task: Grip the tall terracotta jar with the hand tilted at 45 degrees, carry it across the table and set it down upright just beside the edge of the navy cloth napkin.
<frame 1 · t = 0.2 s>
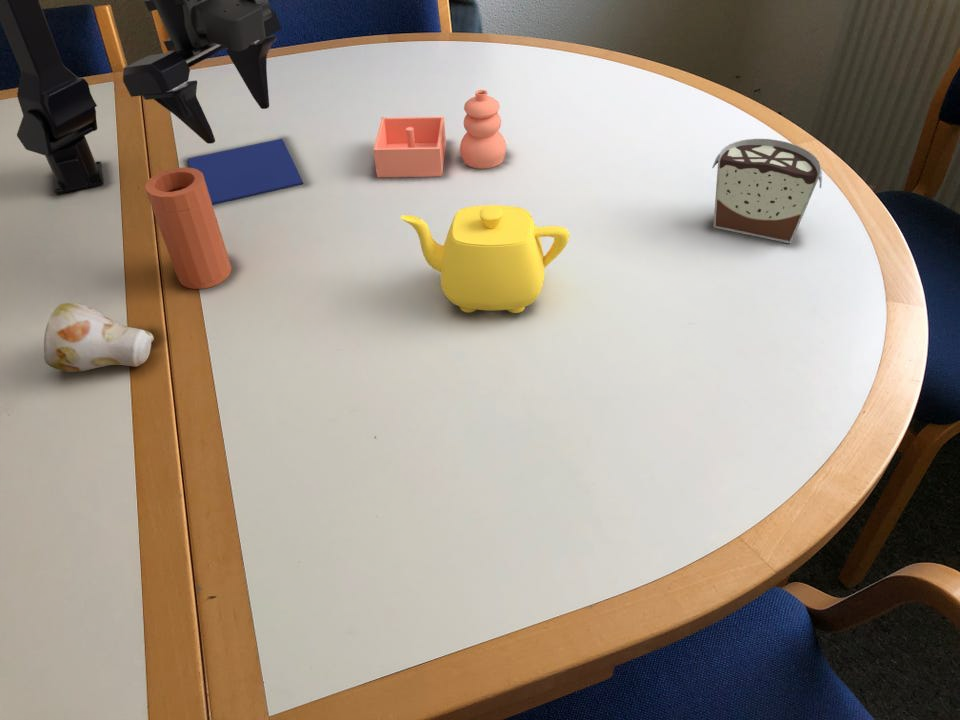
hand: (239, 125, 90), 15 cm above the table, tool pointing down, fingers open, 9 cm apart
teapot: (487, 293, 91), on the table
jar: (205, 273, 95), on the table
fruit patterned vase: (111, 360, 85), on the table
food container: (756, 223, 99), on the table
pottery: (443, 160, 114), on the table
napkin: (244, 171, 113), on the table
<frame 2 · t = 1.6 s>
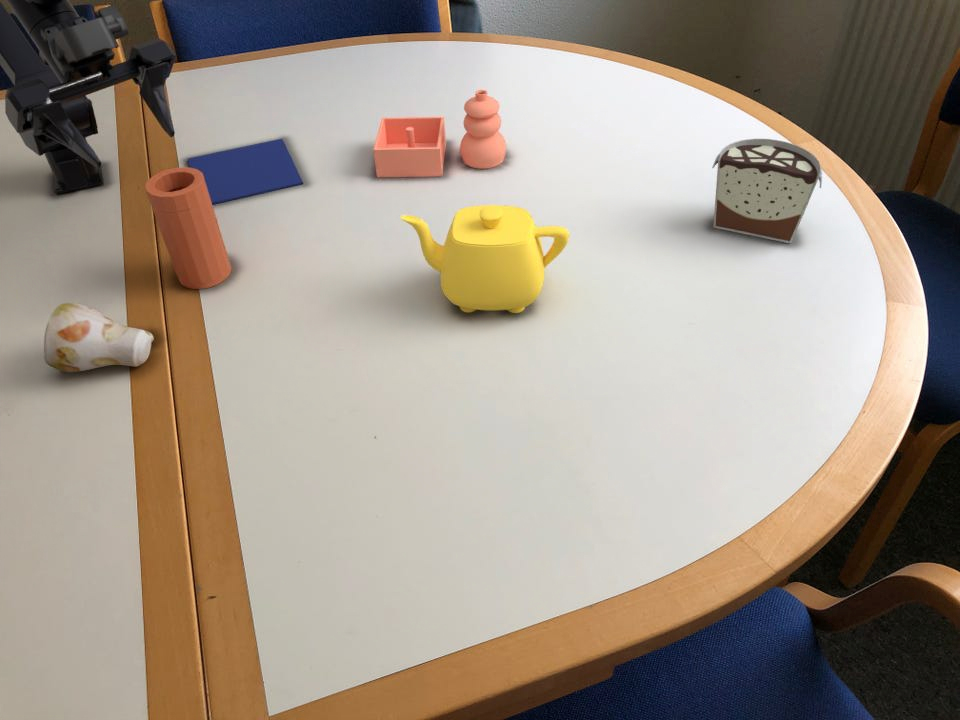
hand: (137, 150, 90), 13 cm above the table, tool tilted 45°, fingers open, 9 cm apart
nothing on the table moved.
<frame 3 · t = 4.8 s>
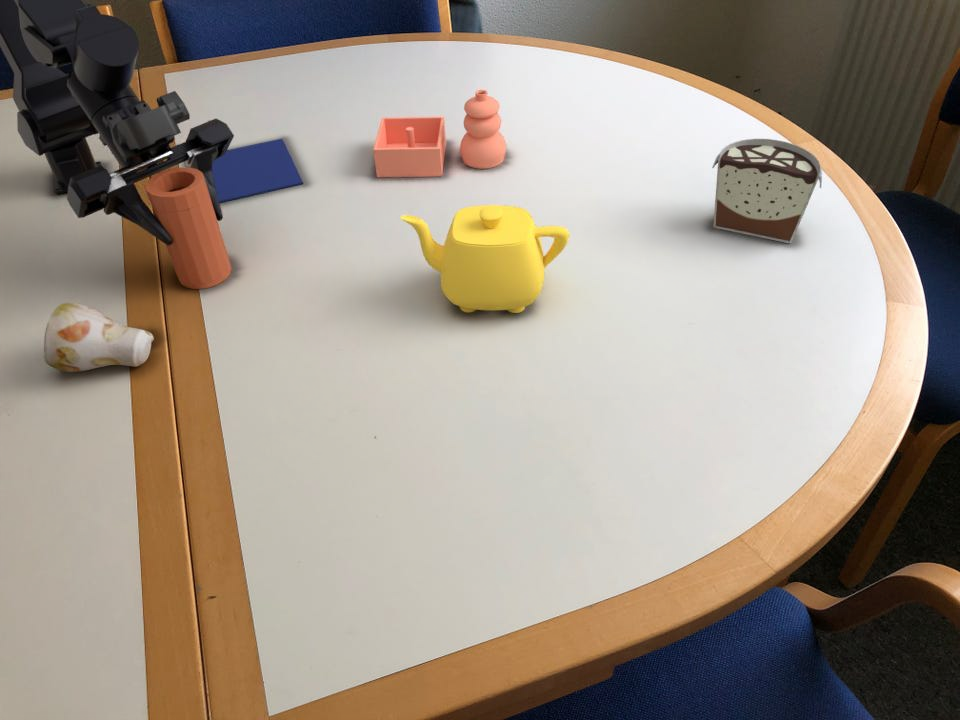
hand: (196, 231, 90), 7 cm above the table, tool tilted 45°, fingers closed on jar, 6 cm apart
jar: (205, 273, 95), on the table, touching gripper
everything else where it was.
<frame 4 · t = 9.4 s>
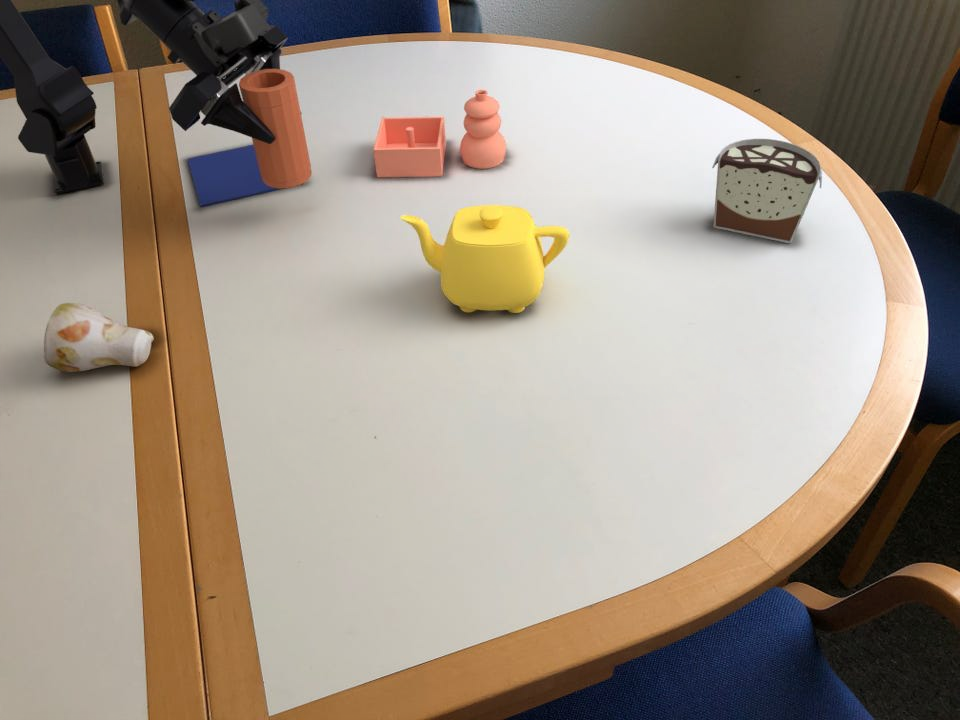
hand: (286, 128, 95), 12 cm above the table, tool tilted 45°, fingers closed on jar, 6 cm apart
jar: (287, 175, 100), point 6 cm above the table, touching gripper
everything else where it was.
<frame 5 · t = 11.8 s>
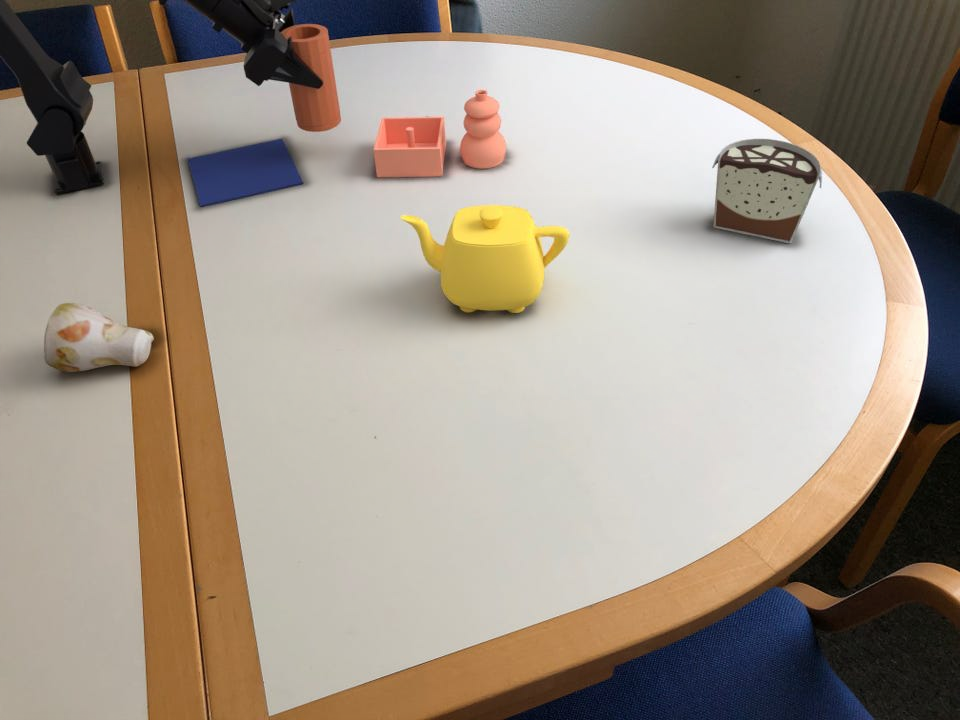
hand: (321, 75, 108), 12 cm above the table, tool tilted 45°, fingers closed on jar, 6 cm apart
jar: (319, 121, 112), point 5 cm above the table, touching gripper
everything else where it was.
when the fingers open (7 cm above the table, at t = 13.8 s): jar stays where it is, on the table.
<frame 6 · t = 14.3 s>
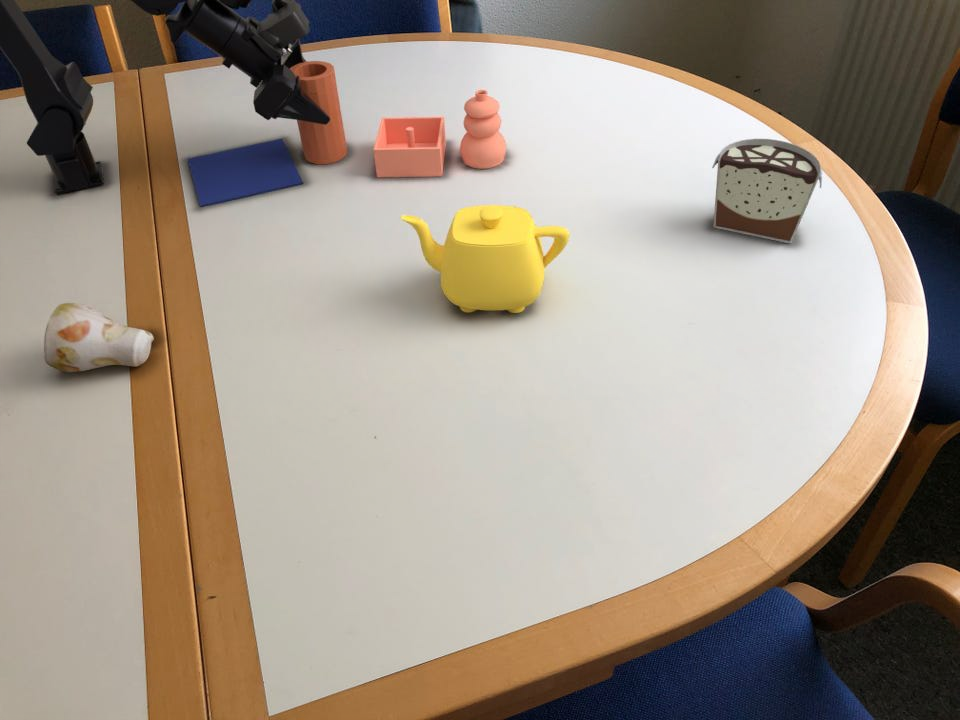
hand: (328, 106, 111), 7 cm above the table, tool tilted 45°, fingers open, 9 cm apart
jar: (326, 153, 116), on the table
everything else where it was.
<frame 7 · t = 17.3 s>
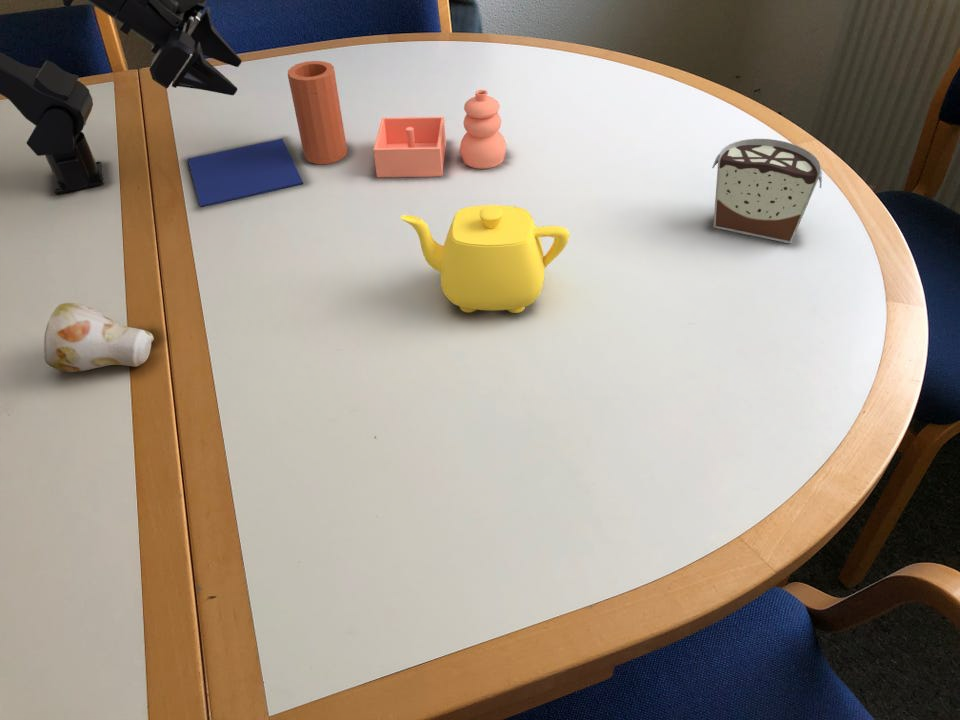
hand: (237, 77, 107), 12 cm above the table, tool tilted 45°, fingers open, 9 cm apart
nothing on the table moved.
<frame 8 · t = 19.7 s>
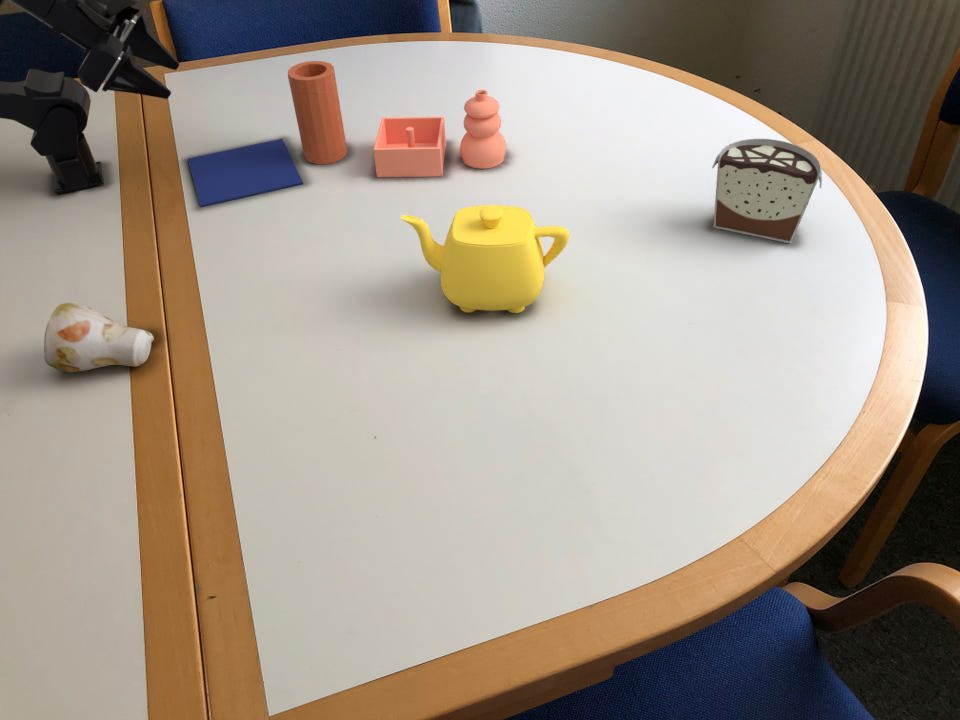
hand: (173, 80, 106), 13 cm above the table, tool tilted 45°, fingers open, 9 cm apart
nothing on the table moved.
at the end: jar inside the target area on the table beside the napkin (0.8 cm from its centre), on the table; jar tilted 0°; the gripper is holding nothing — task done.
